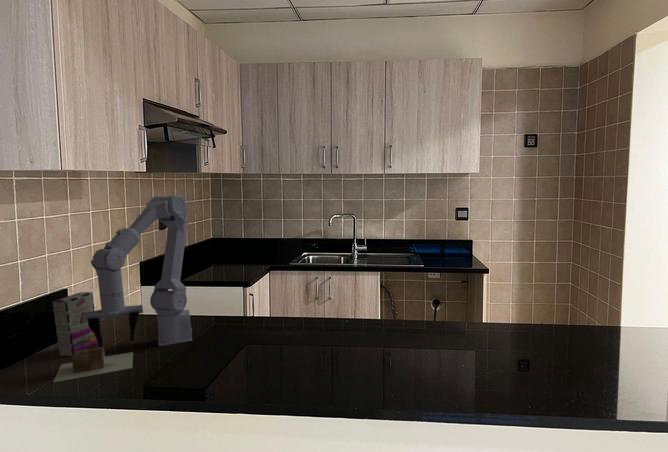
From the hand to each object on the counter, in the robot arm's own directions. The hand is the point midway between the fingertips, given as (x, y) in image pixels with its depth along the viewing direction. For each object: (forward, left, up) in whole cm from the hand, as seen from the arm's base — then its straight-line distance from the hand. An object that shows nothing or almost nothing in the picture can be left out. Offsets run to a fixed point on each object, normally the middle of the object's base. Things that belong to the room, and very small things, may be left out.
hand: (116, 343), depth 130 cm
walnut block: (+4, 0, -3) cm, 5 cm away
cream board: (+6, 0, -5) cm, 8 cm away
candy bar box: (+12, -19, -6) cm, 23 cm away
